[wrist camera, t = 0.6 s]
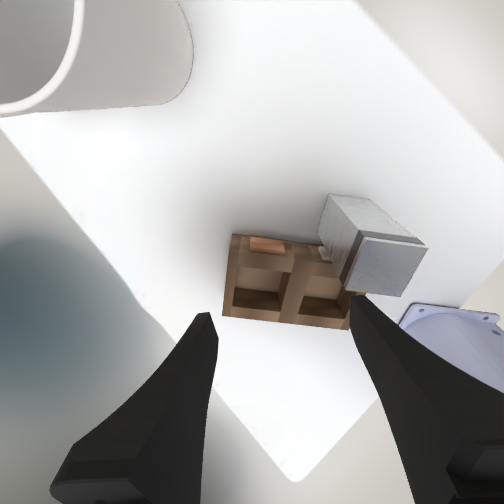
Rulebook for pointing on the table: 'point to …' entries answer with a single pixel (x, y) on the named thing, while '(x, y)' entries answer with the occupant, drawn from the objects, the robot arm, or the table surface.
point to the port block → (284, 284)
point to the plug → (368, 246)
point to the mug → (91, 54)
